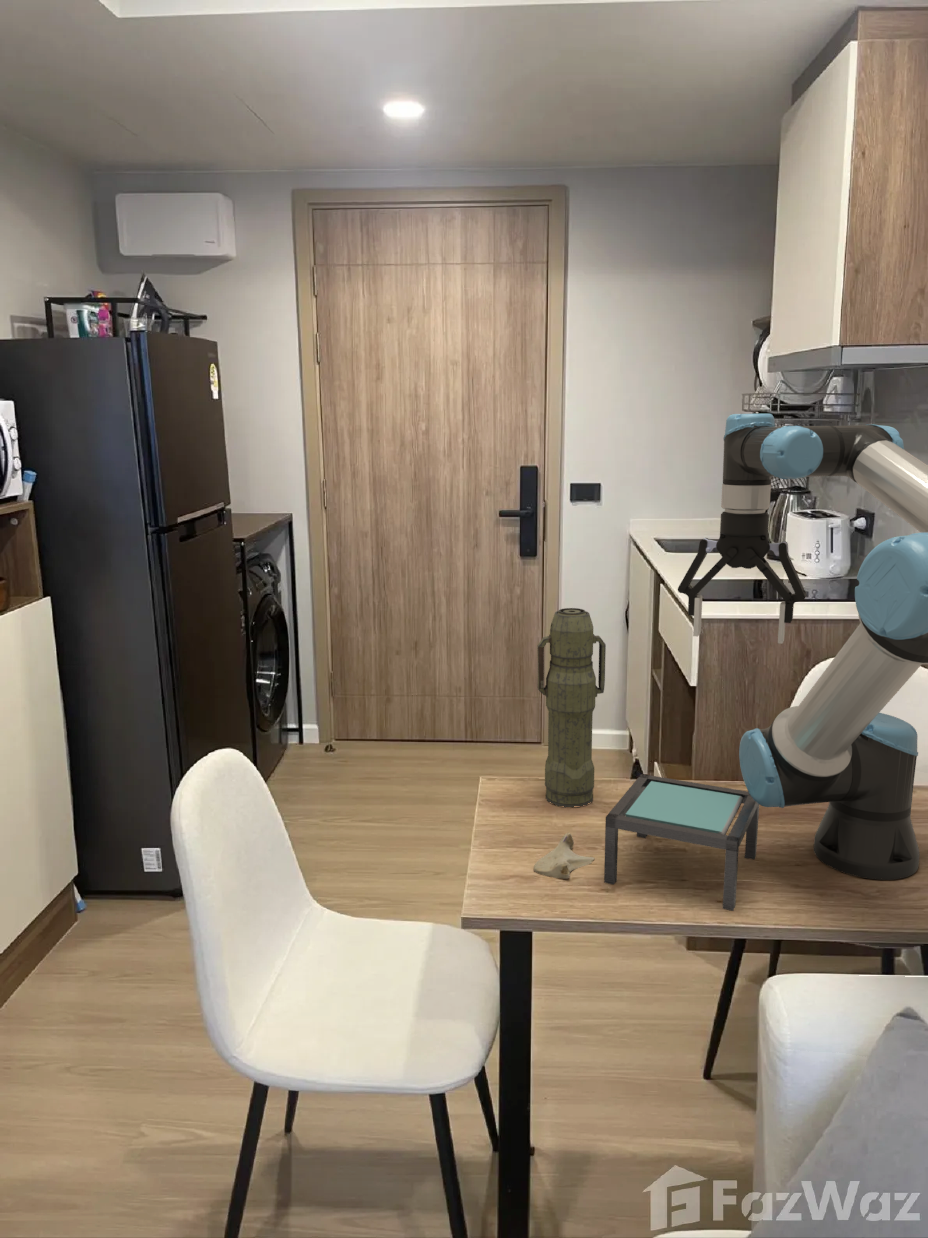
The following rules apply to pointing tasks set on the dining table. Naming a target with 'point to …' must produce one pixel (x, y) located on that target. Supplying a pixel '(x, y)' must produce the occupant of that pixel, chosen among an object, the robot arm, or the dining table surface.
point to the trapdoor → (686, 807)
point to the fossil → (561, 860)
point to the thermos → (570, 706)
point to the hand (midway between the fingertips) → (738, 638)
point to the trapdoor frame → (685, 831)
